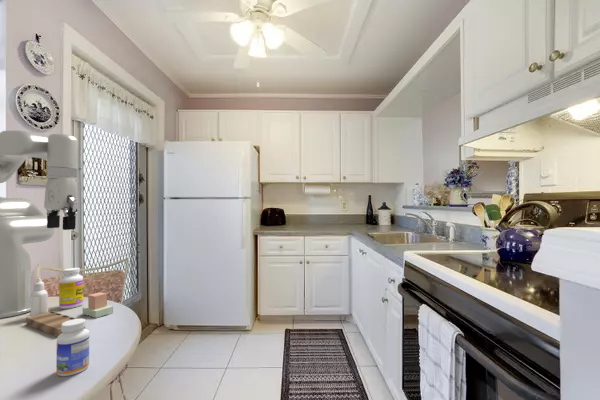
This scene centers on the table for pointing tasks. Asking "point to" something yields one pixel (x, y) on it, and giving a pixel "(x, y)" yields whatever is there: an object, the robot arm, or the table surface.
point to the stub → (97, 305)
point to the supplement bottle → (71, 289)
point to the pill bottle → (72, 348)
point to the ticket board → (48, 322)
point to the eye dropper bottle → (39, 299)
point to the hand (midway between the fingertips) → (60, 228)
